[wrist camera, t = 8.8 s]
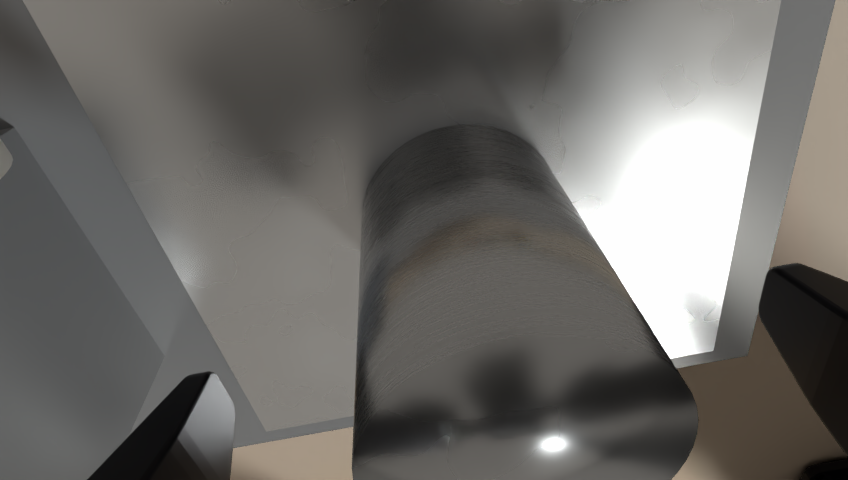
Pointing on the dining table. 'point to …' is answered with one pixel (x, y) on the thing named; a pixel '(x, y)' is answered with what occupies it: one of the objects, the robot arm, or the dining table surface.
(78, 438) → the scale
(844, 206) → the dining table surface
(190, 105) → the pan
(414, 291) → the cylinder
